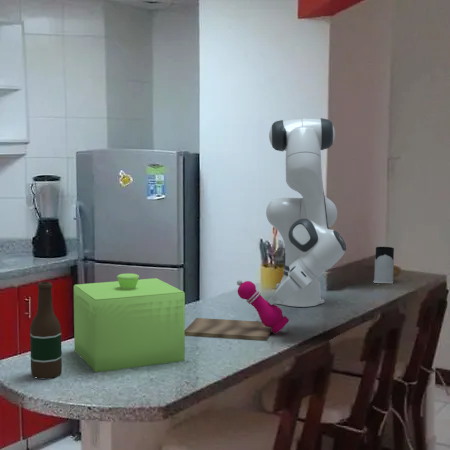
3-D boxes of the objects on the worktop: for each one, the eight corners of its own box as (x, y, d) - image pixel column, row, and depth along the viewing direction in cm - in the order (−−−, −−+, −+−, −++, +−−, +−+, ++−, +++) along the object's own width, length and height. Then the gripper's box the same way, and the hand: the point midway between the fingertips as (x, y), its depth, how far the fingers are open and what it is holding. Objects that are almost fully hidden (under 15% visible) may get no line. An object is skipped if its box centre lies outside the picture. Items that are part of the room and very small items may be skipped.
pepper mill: (288, 323, 228) (243, 275, 229) (271, 337, 230) (227, 291, 231) (291, 316, 235) (247, 270, 235) (275, 330, 237) (232, 285, 238)
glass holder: (373, 284, 312) (374, 249, 310) (372, 278, 326) (373, 244, 324) (394, 285, 311) (396, 249, 309) (392, 279, 325) (394, 245, 323)
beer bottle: (33, 370, 194) (31, 279, 191) (63, 369, 195) (62, 279, 192) (28, 380, 187) (26, 285, 184) (59, 379, 187) (58, 285, 184)
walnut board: (183, 335, 230) (183, 331, 229) (196, 321, 247) (196, 317, 247) (266, 340, 225) (266, 336, 224) (274, 325, 242) (274, 322, 242)
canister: (95, 372, 193) (94, 285, 190) (74, 351, 212) (73, 271, 209) (184, 361, 204) (184, 277, 201) (157, 341, 223) (156, 265, 220)
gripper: (298, 260, 239) (267, 288, 242) (292, 271, 219) (258, 301, 222) (312, 274, 239) (281, 302, 242) (306, 287, 219) (272, 317, 222)
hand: (270, 302), depth 232 cm, fingers closed
